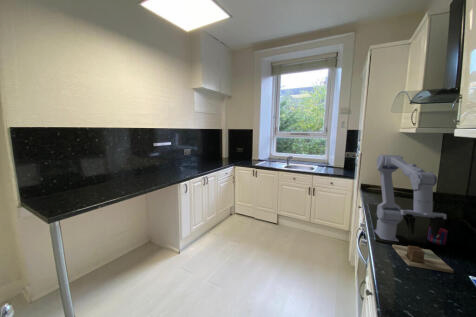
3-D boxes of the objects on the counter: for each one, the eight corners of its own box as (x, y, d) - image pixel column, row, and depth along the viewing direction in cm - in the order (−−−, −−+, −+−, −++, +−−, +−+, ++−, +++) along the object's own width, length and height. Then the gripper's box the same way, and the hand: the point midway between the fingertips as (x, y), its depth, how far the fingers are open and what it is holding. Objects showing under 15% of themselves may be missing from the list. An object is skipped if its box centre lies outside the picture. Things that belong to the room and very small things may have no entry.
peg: (406, 257, 87) (407, 245, 86) (416, 259, 86) (418, 246, 85) (411, 263, 83) (413, 250, 82) (422, 265, 82) (424, 252, 81)
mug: (426, 240, 101) (428, 228, 100) (428, 234, 107) (430, 222, 106) (445, 246, 96) (447, 233, 95) (446, 239, 102) (448, 227, 101)
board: (392, 246, 95) (392, 243, 95) (429, 252, 91) (430, 249, 91) (408, 265, 82) (408, 262, 82) (453, 273, 78) (453, 269, 78)
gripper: (407, 201, 78) (406, 235, 78) (452, 204, 75) (452, 240, 74) (398, 198, 85) (397, 229, 85) (439, 201, 81) (439, 234, 81)
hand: (422, 234), depth 80 cm, fingers open, 7 cm apart
